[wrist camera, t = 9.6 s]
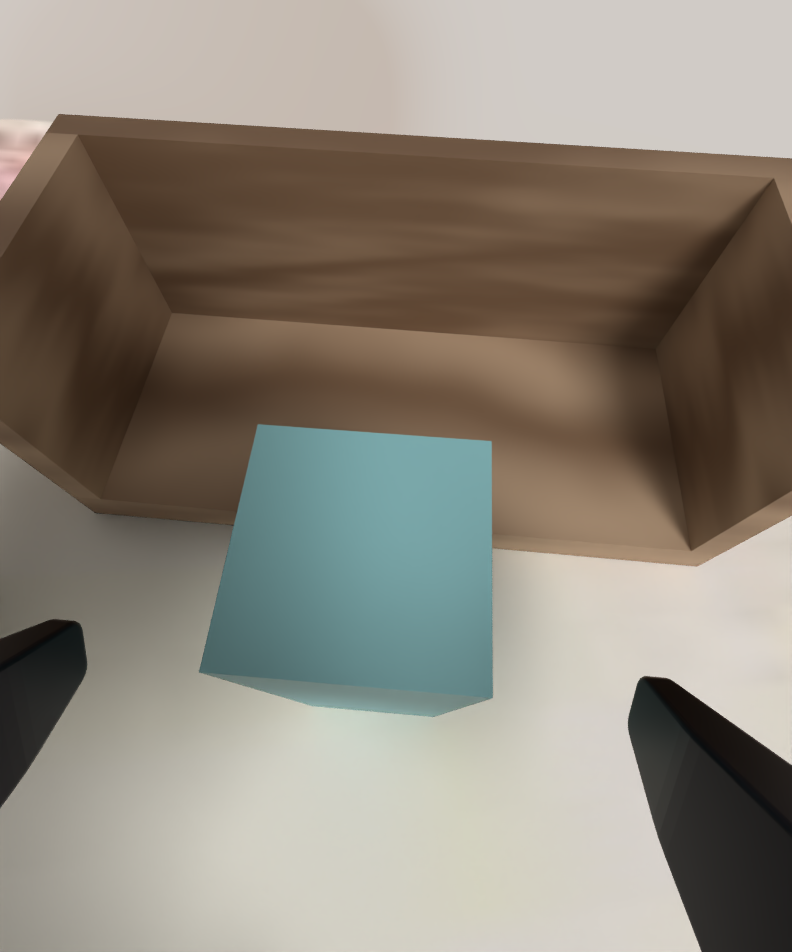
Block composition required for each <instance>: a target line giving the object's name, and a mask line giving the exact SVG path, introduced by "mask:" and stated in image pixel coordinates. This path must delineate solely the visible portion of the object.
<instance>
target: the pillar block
mask: <svg viewBox="0 0 792 952" xmlns="http://www.w3.org/2000/svg"><path fill="white" fill-rule="evenodd" d="M199 672H200V673H203V674H206V675H210V676H213V677H217V678H220V679H223V680H227V681H230V682H233V683H237V684H240V685H244V686H247V687H250V688H254V689H257V690H260V691H264V692H267V693H270V694H274V695H277V696H281V697H284V698H287V699H291V700H294V701H297V702H301V703H304V704H307V705H311V706H318V707H329V708H341V709H352V710H363V711H374V712H385V713H397V714H408V715H419V716H430V717H435V716H438V715H441V714H444V713H447V712H450V711H453V710H457V709H460V708H463V707H466V706H469V705H472V704H475V703H478V702H482V701H485V700H488V699H491V698H493V676H492V441H482V440H468V439H454V438H441V437H427V436H413V435H399V434H385V433H371V432H358V431H344V430H330V429H316V428H302V427H288V426H275V425H261V424H258V426H257V430H256V434H255V438H254V443H253V447H252V451H251V455H250V460H249V464H248V468H247V472H246V476H245V481H244V485H243V489H242V493H241V497H240V502H239V506H238V510H237V514H236V518H235V523H234V527H233V531H232V535H231V539H230V544H229V548H228V552H227V556H226V561H225V565H224V569H223V573H222V577H221V582H220V586H219V590H218V594H217V598H216V603H215V607H214V611H213V615H212V619H211V624H210V628H209V632H208V636H207V641H206V645H205V649H204V653H203V657H202V662H201V666H200V670H199Z"/></svg>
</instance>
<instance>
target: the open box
mask: <svg viewBox="0 0 792 952" xmlns="http://www.w3.org/2000/svg"><path fill="white" fill-rule="evenodd" d="M258 424H261V425H275V426H288V427H302V428H316V429H330V430H344V431H358V432H371V433H385V434H399V435H413V436H427V437H441V438H454V439H468V440H482V441H492V548H497V549H508V550H519V551H530V552H542V553H553V554H564V555H575V556H586V557H598V558H609V559H620V560H631V561H643V562H654V563H665V564H676V565H688V566H699V565H701V564H703V563H705V562H706V561H708V560H710V559H712V558H714V557H716V556H718V555H719V554H721V553H723V552H725V551H727V550H729V549H731V548H732V547H734V546H736V545H738V544H740V543H742V542H744V541H745V540H747V539H749V538H751V537H753V536H755V535H757V534H758V533H760V532H762V531H764V530H766V529H768V528H770V527H771V526H773V525H775V524H777V523H779V522H781V521H783V520H785V519H786V518H788V517H790V516H792V159H790V158H773V157H756V156H741V155H740V156H739V155H725V154H708V153H692V152H691V153H690V152H674V151H658V150H642V149H625V148H609V147H593V146H575V145H560V144H543V143H527V142H510V141H494V140H476V139H461V138H444V137H427V136H411V135H395V134H377V133H361V132H345V131H328V130H312V129H296V128H279V127H263V126H246V125H230V124H214V123H196V122H180V121H164V120H148V119H130V118H115V117H98V116H82V115H65V114H59V115H58V116H57V117H56V119H55V120H54V122H53V123H52V125H51V126H50V128H49V129H48V131H47V132H46V134H45V135H44V137H43V138H42V140H41V141H40V143H39V144H38V146H37V147H36V149H35V150H34V152H33V153H32V155H31V156H30V158H29V159H28V160H27V162H26V163H25V165H24V166H23V168H22V169H21V171H20V172H19V174H18V175H17V177H16V178H15V180H14V181H13V183H12V184H11V186H10V187H9V189H8V190H7V192H6V193H5V195H4V196H3V198H2V199H1V201H0V444H2V445H3V446H5V447H6V448H7V449H9V450H10V451H11V452H13V453H14V454H16V455H17V456H18V457H20V458H21V459H22V460H24V461H25V462H26V463H28V464H29V465H31V466H32V467H33V468H35V469H36V470H37V471H39V472H40V473H42V474H43V475H44V476H46V477H47V478H48V479H50V480H51V481H52V482H54V483H55V484H57V485H58V486H59V487H61V488H62V489H63V490H65V491H66V492H68V493H69V494H70V495H72V496H73V497H74V498H76V499H77V500H78V501H80V502H81V503H83V504H84V505H85V506H87V507H88V508H89V509H91V510H92V511H94V512H95V513H103V514H115V515H126V516H137V517H148V518H160V519H171V520H182V521H193V522H205V523H216V524H227V525H234V523H235V518H236V514H237V510H238V506H239V502H240V497H241V493H242V489H243V485H244V481H245V476H246V472H247V468H248V464H249V460H250V455H251V451H252V447H253V443H254V438H255V434H256V430H257V426H258Z"/></svg>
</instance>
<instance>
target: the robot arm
mask: <svg viewBox="0 0 792 952" xmlns="http://www.w3.org/2000/svg"><path fill="white" fill-rule="evenodd" d="M86 670H87V658H86V651H85V644H84V637H83V630H82V627H81V625H80V624H79V623H78V622H76V621H69V620H59V619H52V620H48V621H45V622H43V623H40V624H38V625H35V626H32V627H30V628H27V629H25V630H22V631H19V632H17V633H14V634H11V635H9V636H6V637H4V638H1V639H0V808H1V806H2V805H3V804H4V802H5V801H6V800H7V798H8V797H9V795H10V794H11V793H12V791H13V790H14V789H15V787H16V786H17V784H18V783H19V782H20V780H21V779H22V777H23V776H24V774H25V773H26V772H27V770H28V769H29V767H30V765H31V764H32V762H33V761H34V759H35V758H36V756H37V755H38V753H39V751H40V750H41V748H42V746H43V745H44V743H45V742H46V740H47V738H48V737H49V735H50V733H51V732H52V730H53V728H54V727H55V725H56V723H57V722H58V720H59V718H60V717H61V715H62V713H63V712H64V710H65V709H66V707H67V705H68V704H69V702H70V700H71V699H72V697H73V695H74V694H75V692H76V690H77V689H78V687H79V685H80V684H81V682H82V680H83V678H84V676H85V674H86ZM628 730H629V735H630V739H631V743H632V746H633V750H634V754H635V757H636V761H637V764H638V768H639V772H640V775H641V779H642V782H643V786H644V790H645V793H646V797H647V800H648V804H649V808H650V811H651V815H652V819H653V822H654V825H655V828H656V832H657V835H658V838H659V841H660V844H661V846H662V849H663V852H664V855H665V858H666V860H667V863H668V865H669V868H670V871H671V873H672V876H673V878H674V881H675V884H676V886H677V889H678V891H679V894H680V897H681V899H682V902H683V904H684V907H685V910H686V912H687V915H688V917H689V920H690V923H691V925H692V928H693V930H694V933H695V936H696V938H697V941H698V944H699V946H700V949H701V951H702V952H792V765H791V764H789V763H788V762H786V761H785V760H784V759H782V758H781V757H779V756H778V755H777V754H775V753H774V752H772V751H771V750H770V749H768V748H767V747H765V746H764V745H762V744H761V743H760V742H758V741H757V740H755V739H754V738H753V737H751V736H750V735H748V734H747V733H746V732H744V731H743V730H741V729H740V728H738V727H737V726H736V725H734V724H733V723H731V722H730V721H729V720H727V719H726V718H724V717H723V716H722V715H720V714H719V713H717V712H716V711H714V710H713V709H712V708H710V707H709V706H707V705H706V704H705V703H703V702H702V701H700V700H699V699H698V698H696V697H695V696H693V695H692V694H690V693H689V692H688V691H686V690H685V689H683V688H682V687H681V686H679V685H678V684H676V683H675V682H673V681H672V680H670V679H668V678H661V677H650V676H644V677H642V678H640V680H639V681H638V683H637V687H636V690H635V694H634V698H633V702H632V705H631V709H630V713H629V717H628Z"/></svg>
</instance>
